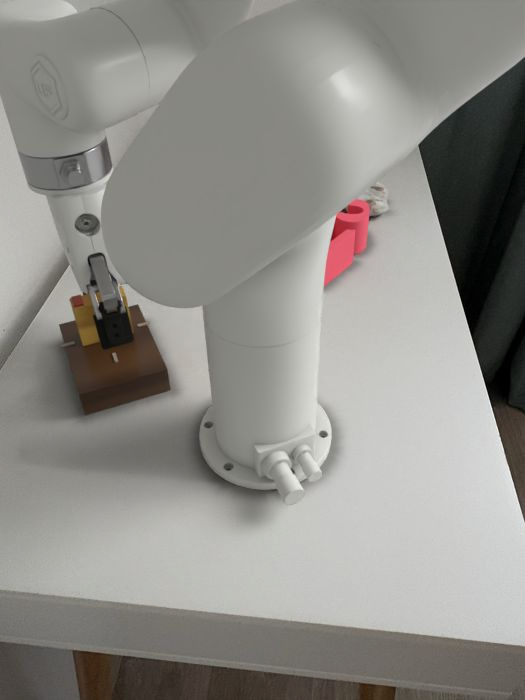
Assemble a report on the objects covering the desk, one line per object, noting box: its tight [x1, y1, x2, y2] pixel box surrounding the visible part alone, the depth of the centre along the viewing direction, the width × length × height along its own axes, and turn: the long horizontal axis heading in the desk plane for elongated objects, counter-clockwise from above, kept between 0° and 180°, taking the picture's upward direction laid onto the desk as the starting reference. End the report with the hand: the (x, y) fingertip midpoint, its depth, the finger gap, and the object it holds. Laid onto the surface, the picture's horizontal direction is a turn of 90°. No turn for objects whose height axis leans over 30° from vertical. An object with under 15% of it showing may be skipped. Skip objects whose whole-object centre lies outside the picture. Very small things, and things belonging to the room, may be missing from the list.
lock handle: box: [69, 285, 134, 346], centre depth 66 cm, size 6×2×5 cm, turn 113°
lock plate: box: [58, 304, 172, 416], centre depth 68 cm, size 13×10×3 cm
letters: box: [324, 199, 370, 287], centre depth 83 cm, size 14×10×5 cm
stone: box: [344, 181, 390, 217], centre depth 94 cm, size 10×7×3 cm
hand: (107, 317), depth 66 cm, fingers open, 9 cm apart
